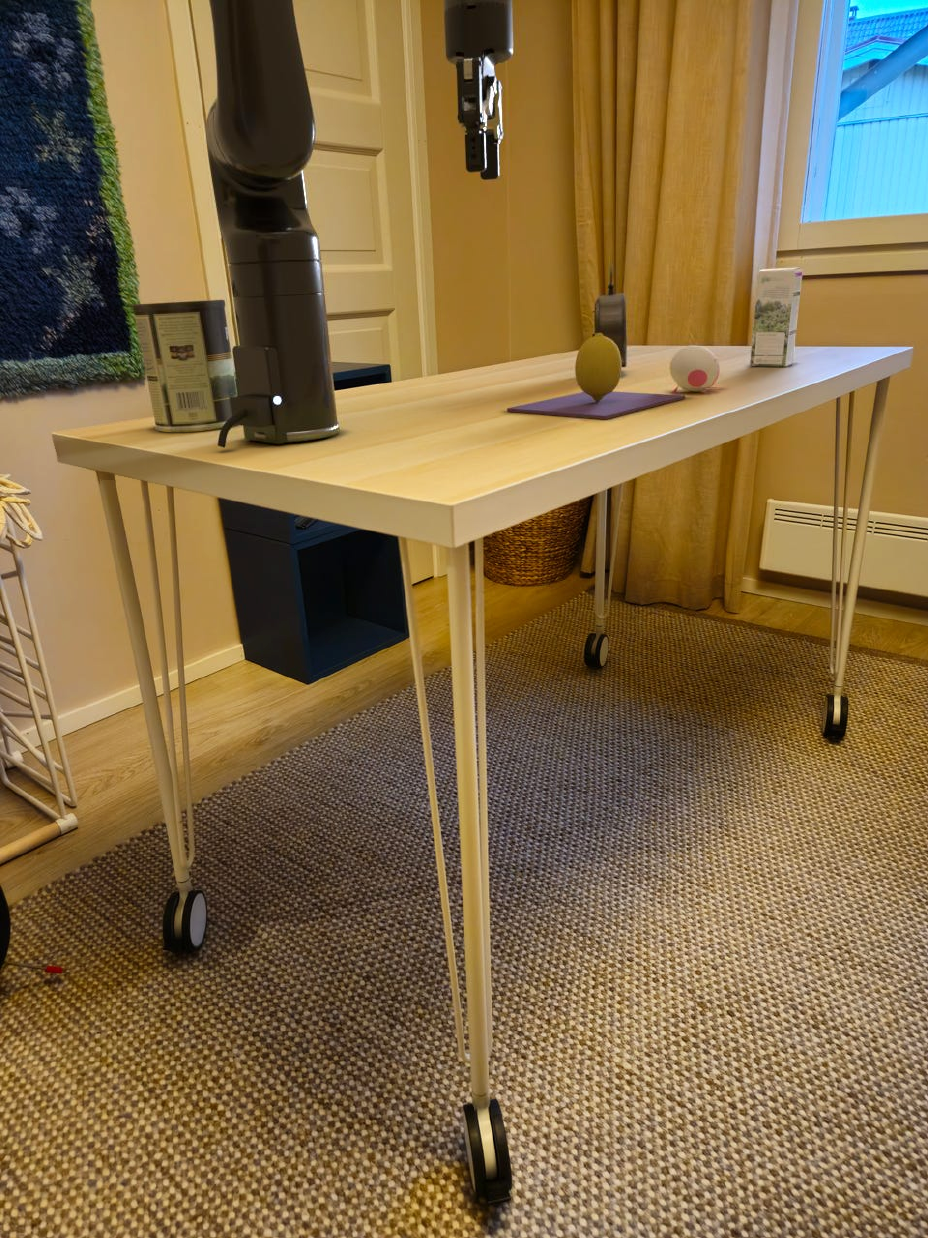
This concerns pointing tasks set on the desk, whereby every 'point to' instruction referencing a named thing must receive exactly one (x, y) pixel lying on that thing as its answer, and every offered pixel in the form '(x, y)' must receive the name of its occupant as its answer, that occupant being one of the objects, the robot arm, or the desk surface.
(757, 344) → the syrup box
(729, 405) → the desk surface
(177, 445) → the desk surface
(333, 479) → the desk surface
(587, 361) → the lemon
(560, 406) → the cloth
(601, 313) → the alarm clock
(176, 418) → the coffee can
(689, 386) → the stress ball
